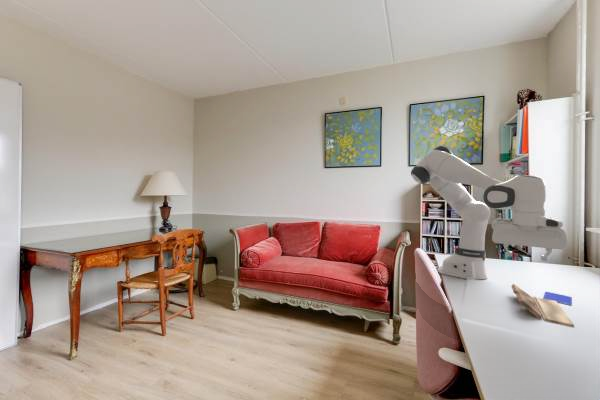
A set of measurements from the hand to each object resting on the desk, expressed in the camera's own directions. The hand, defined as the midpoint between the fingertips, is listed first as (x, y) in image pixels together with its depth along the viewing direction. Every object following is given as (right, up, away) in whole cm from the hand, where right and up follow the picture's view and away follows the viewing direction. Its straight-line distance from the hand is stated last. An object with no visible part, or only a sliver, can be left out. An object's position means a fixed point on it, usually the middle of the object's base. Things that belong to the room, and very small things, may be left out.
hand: (526, 258), depth 95 cm
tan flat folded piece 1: (0, -17, 0) cm, 17 cm away
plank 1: (+7, -17, +10) cm, 21 cm away
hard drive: (+24, -21, +13) cm, 34 cm away
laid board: (+10, -20, +1) cm, 22 cm away
